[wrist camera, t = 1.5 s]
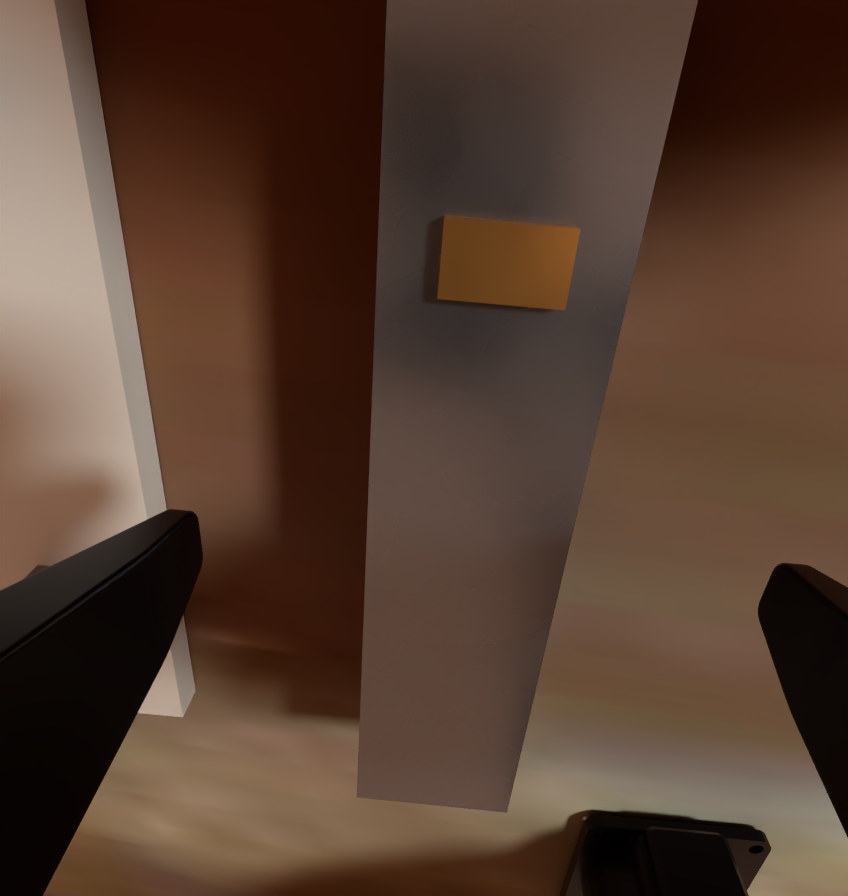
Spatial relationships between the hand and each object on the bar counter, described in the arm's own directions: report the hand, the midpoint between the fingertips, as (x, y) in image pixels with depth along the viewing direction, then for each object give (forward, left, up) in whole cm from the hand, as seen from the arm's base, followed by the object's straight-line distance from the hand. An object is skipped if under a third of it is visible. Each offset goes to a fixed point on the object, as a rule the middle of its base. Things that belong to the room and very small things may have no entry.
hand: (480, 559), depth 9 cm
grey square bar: (0, 0, -6) cm, 6 cm away
